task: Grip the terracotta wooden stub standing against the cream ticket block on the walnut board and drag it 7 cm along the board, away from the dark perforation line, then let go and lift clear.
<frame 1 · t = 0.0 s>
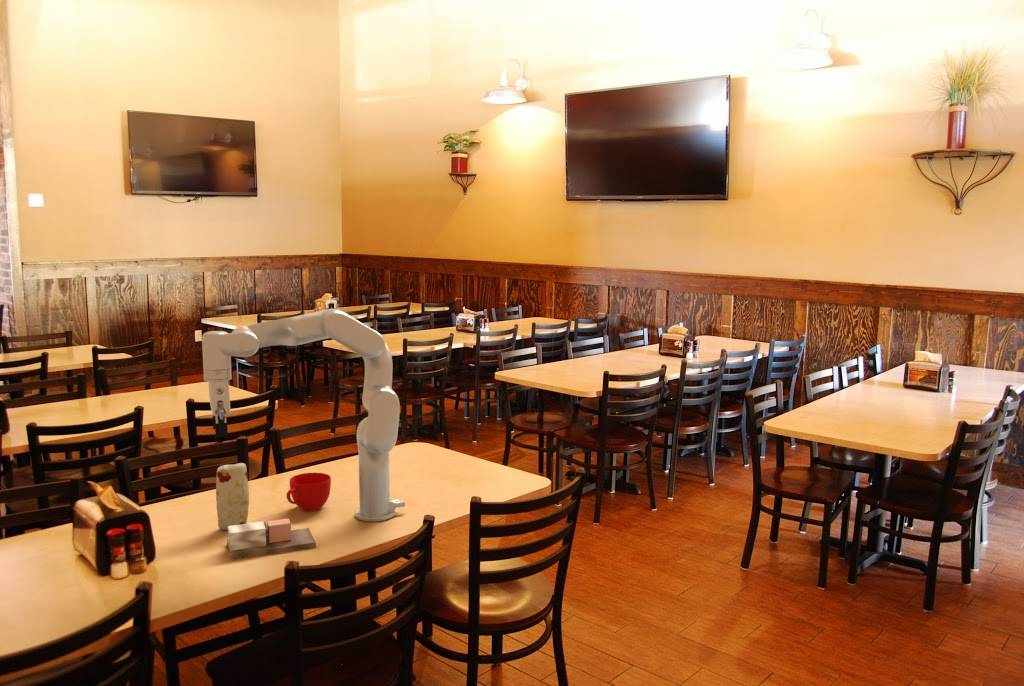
hand: (220, 432, 235), 31 cm above the table, tool pointing down, fingers open, 9 cm apart
stub: (279, 530, 232), point 4 cm above the table, slide at 0.0 cm
ticket board: (267, 546, 232), on the table
food model: (233, 528, 246), on the table
ceramic cup: (307, 510, 261), on the table
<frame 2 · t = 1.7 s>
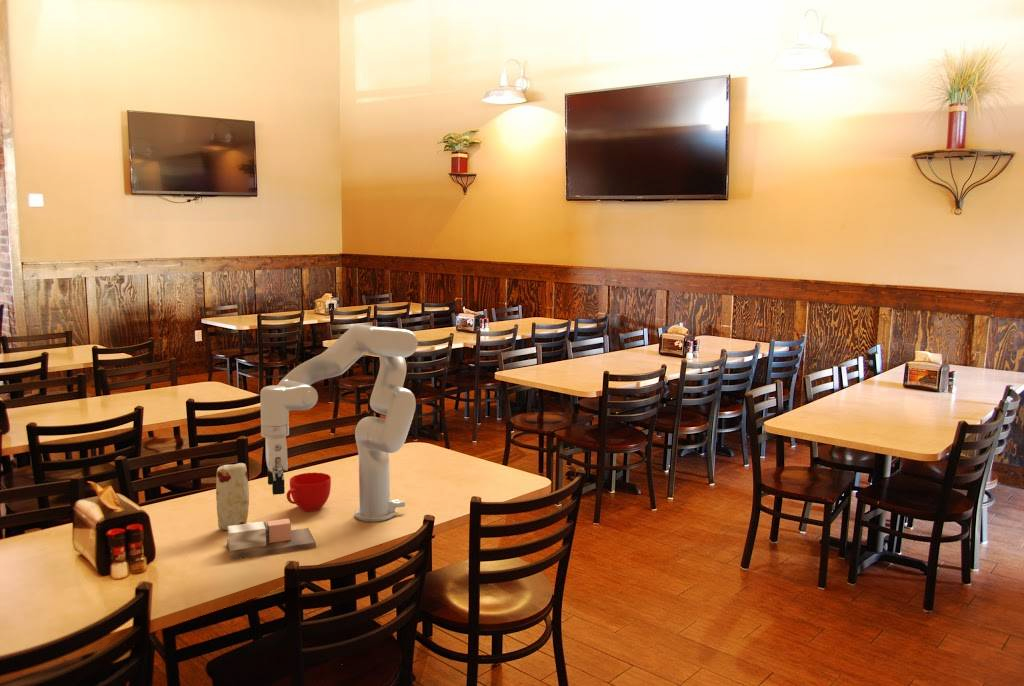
hand: (276, 488, 230), 17 cm above the table, tool pointing down, fingers open, 9 cm apart
nothing on the table moved.
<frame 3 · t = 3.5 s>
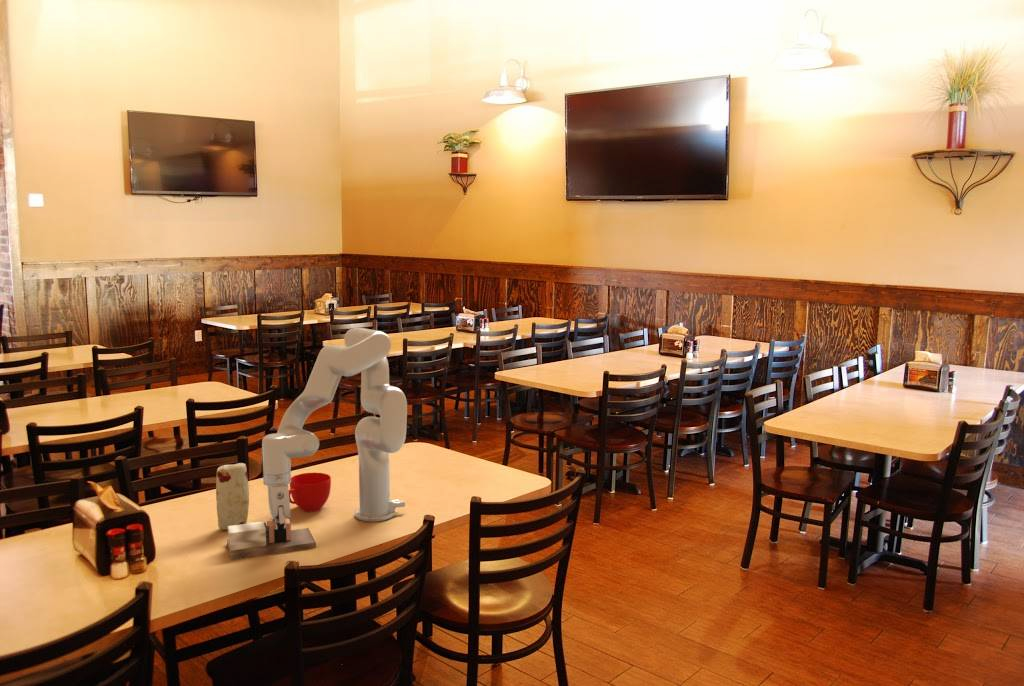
hand: (279, 538, 233), 2 cm above the table, tool pointing down, fingers closed on stub, 4 cm apart
stub: (279, 530, 232), point 4 cm above the table, slide at 0.0 cm, touching gripper
everything else where it was.
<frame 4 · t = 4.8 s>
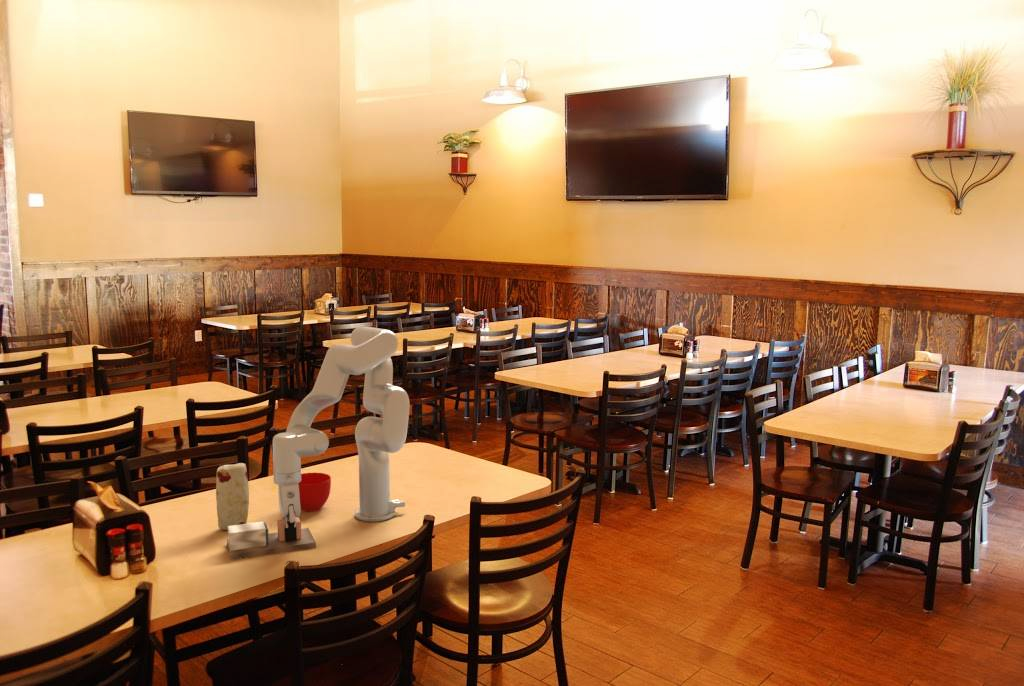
hand: (289, 537, 234), 2 cm above the table, tool pointing down, fingers closed on stub, 4 cm apart
stub: (289, 529, 234), point 4 cm above the table, slide at 2.8 cm, touching gripper
everything else where it was.
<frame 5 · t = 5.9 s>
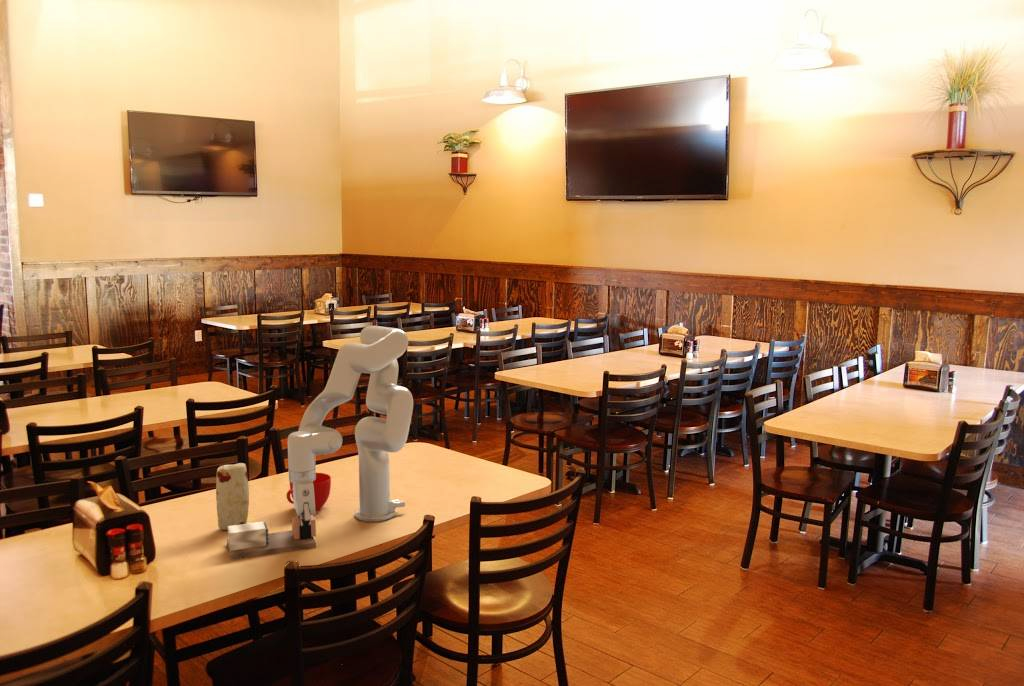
hand: (304, 535, 235), 2 cm above the table, tool pointing down, fingers closed on stub, 4 cm apart
stub: (303, 527, 235), point 4 cm above the table, slide at 7.0 cm, touching gripper
everything else where it was.
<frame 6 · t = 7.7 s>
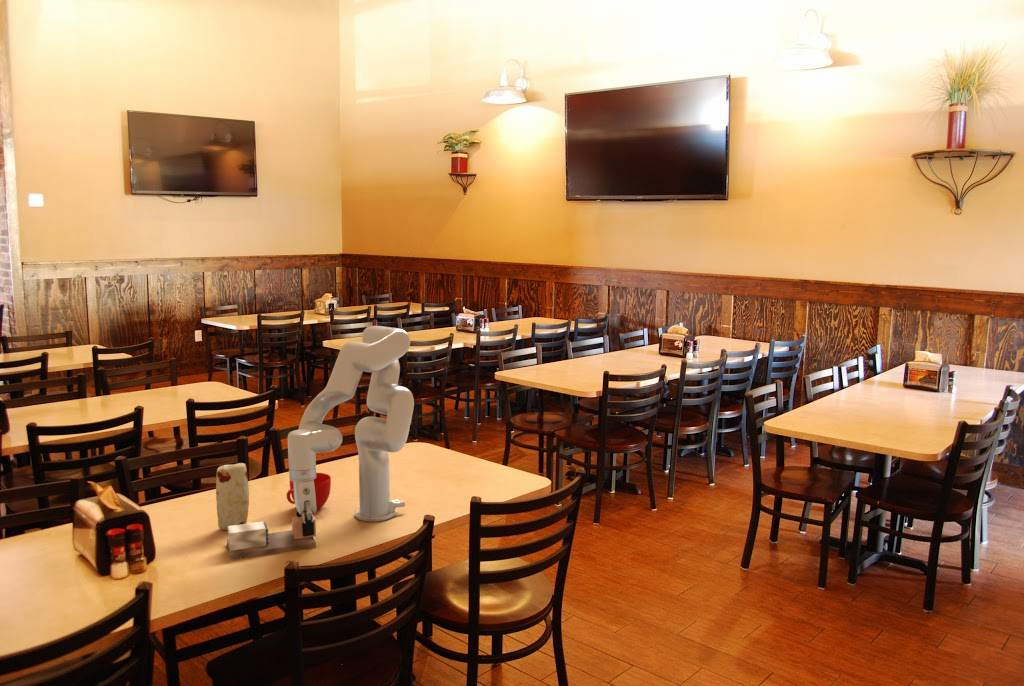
hand: (305, 529, 236), 3 cm above the table, tool pointing down, fingers open, 9 cm apart
stub: (303, 527, 235), point 4 cm above the table, slide at 7.0 cm
everything else where it was.
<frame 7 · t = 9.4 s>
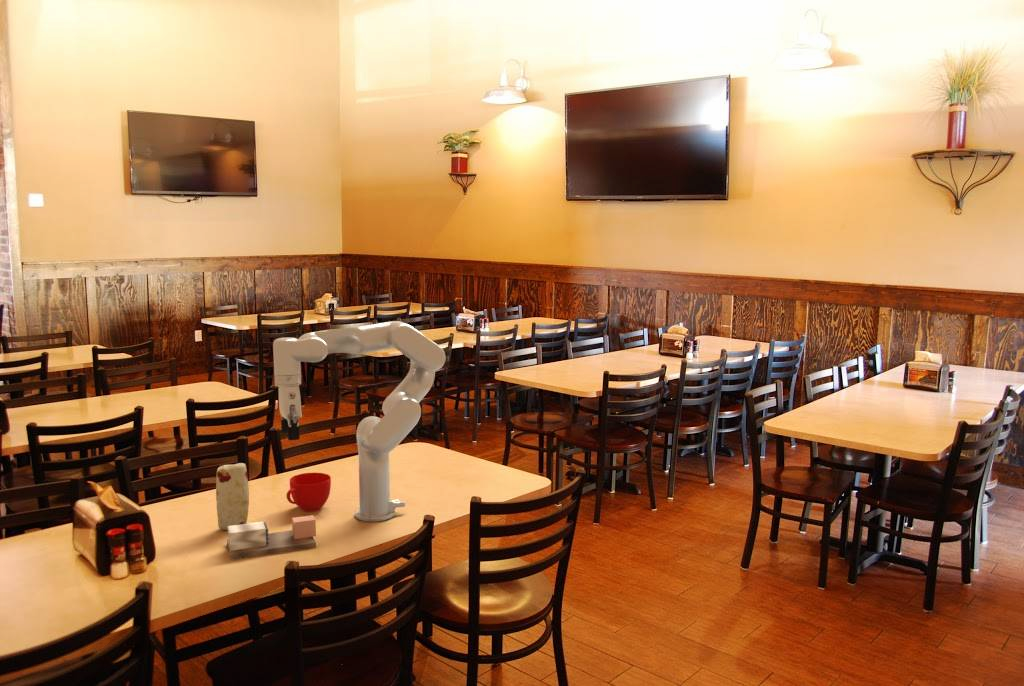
hand: (290, 435, 242), 29 cm above the table, tool pointing down, fingers open, 9 cm apart
nothing on the table moved.
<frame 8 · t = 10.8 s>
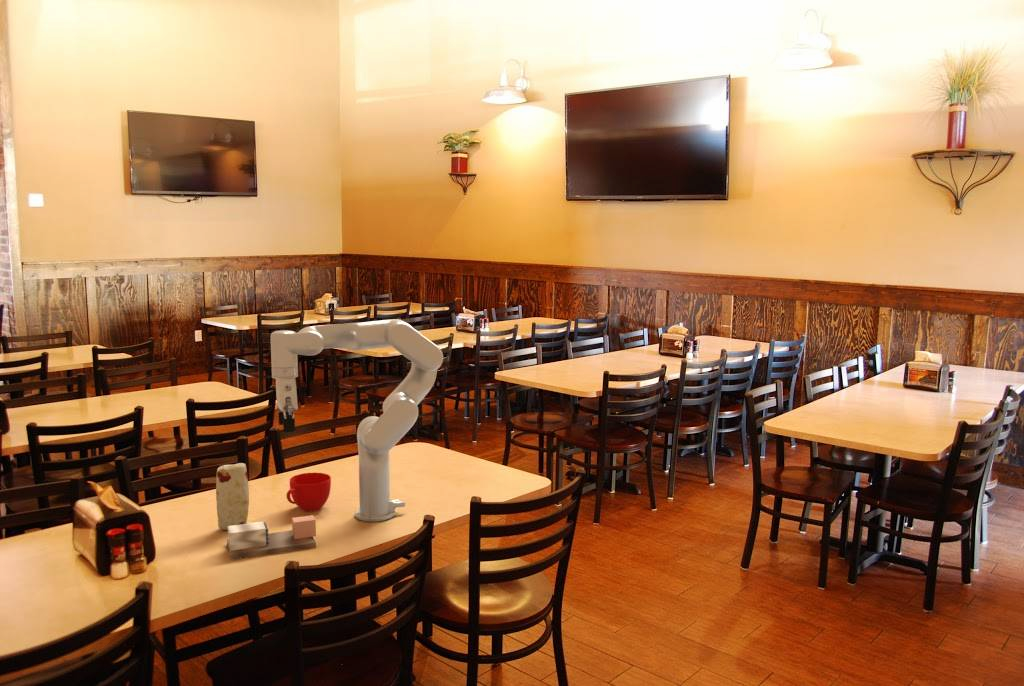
hand: (286, 428, 244), 30 cm above the table, tool pointing down, fingers open, 9 cm apart
nothing on the table moved.
at the end: stub slide at 7.0 cm; the gripper is holding nothing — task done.
